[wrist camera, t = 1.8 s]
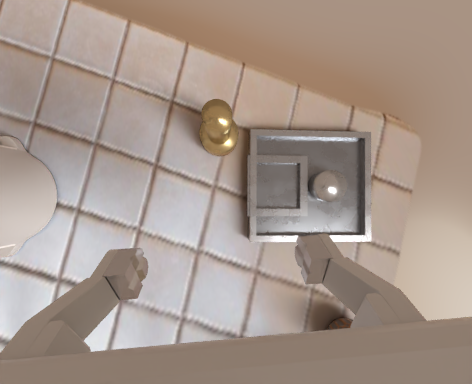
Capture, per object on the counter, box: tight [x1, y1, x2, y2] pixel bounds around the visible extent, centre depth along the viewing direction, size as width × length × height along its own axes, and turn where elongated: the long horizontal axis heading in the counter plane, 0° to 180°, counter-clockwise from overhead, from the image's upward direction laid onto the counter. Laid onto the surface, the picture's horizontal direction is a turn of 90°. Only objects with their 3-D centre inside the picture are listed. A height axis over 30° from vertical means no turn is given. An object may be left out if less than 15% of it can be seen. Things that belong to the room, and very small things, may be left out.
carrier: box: [247, 129, 371, 242], centre depth 31 cm, size 20×18×4 cm
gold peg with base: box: [199, 99, 238, 156], centre depth 28 cm, size 6×6×10 cm
